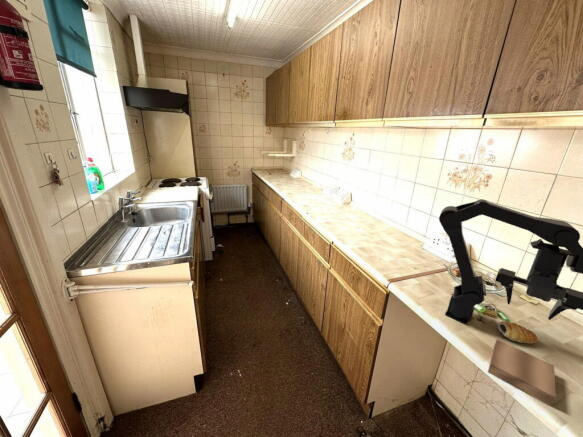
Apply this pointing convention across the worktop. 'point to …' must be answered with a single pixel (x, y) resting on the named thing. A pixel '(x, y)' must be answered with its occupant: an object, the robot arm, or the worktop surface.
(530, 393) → the walnut base
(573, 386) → the worktop surface
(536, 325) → the worktop surface
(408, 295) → the worktop surface
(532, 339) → the pastry
